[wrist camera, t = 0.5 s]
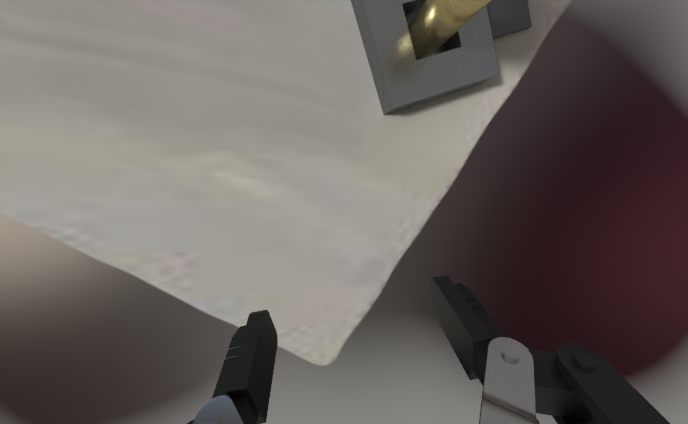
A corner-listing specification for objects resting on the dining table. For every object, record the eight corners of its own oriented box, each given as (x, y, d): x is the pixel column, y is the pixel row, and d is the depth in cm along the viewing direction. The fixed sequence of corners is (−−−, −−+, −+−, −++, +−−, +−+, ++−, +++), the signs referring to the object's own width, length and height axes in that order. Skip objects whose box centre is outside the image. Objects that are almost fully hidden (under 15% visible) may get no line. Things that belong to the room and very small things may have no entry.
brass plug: (395, 20, 34) (466, -92, 20) (435, 9, 35) (530, -105, 21) (407, 67, 35) (483, -8, 21) (445, 55, 36) (543, -24, 22)
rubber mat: (461, -25, 35) (464, -28, 35) (516, -39, 36) (520, -43, 36) (476, 43, 37) (479, 41, 36) (527, 28, 38) (531, 25, 37)
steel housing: (348, -9, 33) (354, -31, 29) (456, -36, 35) (473, -59, 31) (383, 115, 36) (393, 108, 32) (481, 83, 38) (499, 74, 34)
